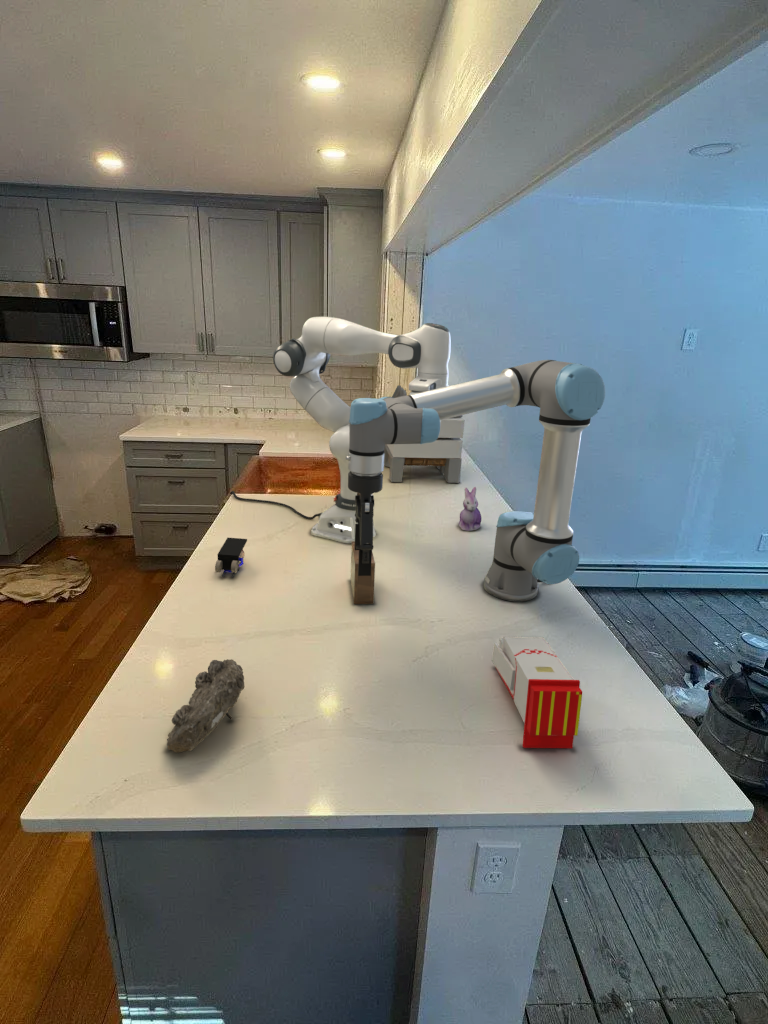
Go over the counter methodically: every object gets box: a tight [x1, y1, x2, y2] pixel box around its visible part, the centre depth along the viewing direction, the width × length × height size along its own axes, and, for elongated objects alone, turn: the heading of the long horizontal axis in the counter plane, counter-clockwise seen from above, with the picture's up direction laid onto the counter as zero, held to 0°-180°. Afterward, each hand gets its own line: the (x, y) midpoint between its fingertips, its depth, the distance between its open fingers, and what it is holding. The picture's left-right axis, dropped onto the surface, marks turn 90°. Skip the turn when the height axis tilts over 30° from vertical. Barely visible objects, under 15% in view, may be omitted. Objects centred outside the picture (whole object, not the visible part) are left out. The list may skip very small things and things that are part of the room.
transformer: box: [384, 384, 465, 484], centre depth 268 cm, size 34×33×41 cm
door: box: [350, 521, 376, 569], centre depth 153 cm, size 15×5×9 cm, turn 7°
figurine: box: [458, 486, 482, 532], centre depth 206 cm, size 9×10×15 cm
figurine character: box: [214, 537, 248, 578], centre depth 166 cm, size 7×8×15 cm
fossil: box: [166, 658, 245, 754], centre depth 106 cm, size 22×10×15 cm
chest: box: [350, 547, 376, 605], centre depth 156 cm, size 14×5×11 cm, turn 7°
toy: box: [491, 636, 583, 749], centre depth 115 cm, size 12×13×30 cm
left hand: (428, 430), depth 168 cm, fingers open, 8 cm apart
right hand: (362, 561), depth 129 cm, fingers open, 13 cm apart
